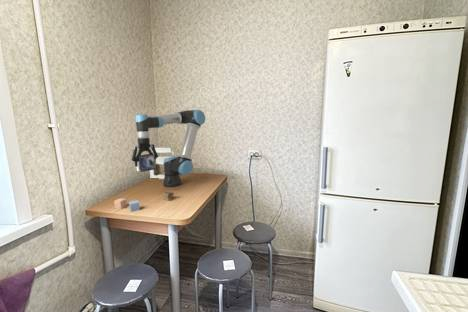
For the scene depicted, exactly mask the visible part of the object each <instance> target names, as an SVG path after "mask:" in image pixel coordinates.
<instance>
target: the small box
mask: <svg viewBox="0 0 468 312" xmlns="http://www.w3.org/2000/svg"><path fill="white" fill-rule="evenodd" d="M138 162H139V168H140V171H139V172H140V173H142V172H150V170H154V169H155V160H154V155H151V154H149V153H147V154H141V155H140V156H139V159H138Z"/></svg>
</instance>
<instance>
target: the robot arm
mask: <svg viewBox="0 0 468 312" xmlns="http://www.w3.org/2000/svg"><path fill="white" fill-rule="evenodd" d="M205 121H206V115H205V113H204V112H203V110H201V109H191V110H189V109H188V110H187V109H186V110H183V111H179V112H177V111H176V112H175V113H170V114H162V115H152V116H151V115H150V116H148V114H136V116H135V125H136V135H137V137H136V138H137V144H138V145H136V146H135V145H134V146H133V151H132V156H131V161H132V162H134V165H135V167H136V171H137V172H140V168H139V162H138V159H139V156H140V155H142V153H144V152H148V154H151V155H154V160H155V163H156V158H158V157H159V155H158V153H157V152H156V150H155V148H156V147H155V144H153V143H151V142H150V140H151V139H150V131H149V129H158V128H163V127H164V126H165V125H172V124H176V125H182V124H183V125H186V126H187V128H186V131H185V135H184V139H183V143H182V147H181V150H180V153H179V155H177V156H176V157H171V156H169V157H170V158H165V159H164V163H163V164H162V165H163V172H164V174H165V177H164V179H163V182H162V186H163V187H165V188H174V187H179V186H181V185H182V179H181V177H180V176H186V175H189V174H191V172H193V169H194V165H193V162H192V160H193V159H192V158H191V157H192V153H193V150H194V145H195V143H196V142H195V141H196V138H197V134H198V131H199V129H201V126H202V125H204V124H205ZM150 143H151V144H150ZM150 148H151V149H150ZM152 151H153V153H154V154H153V153H152Z"/></svg>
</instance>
